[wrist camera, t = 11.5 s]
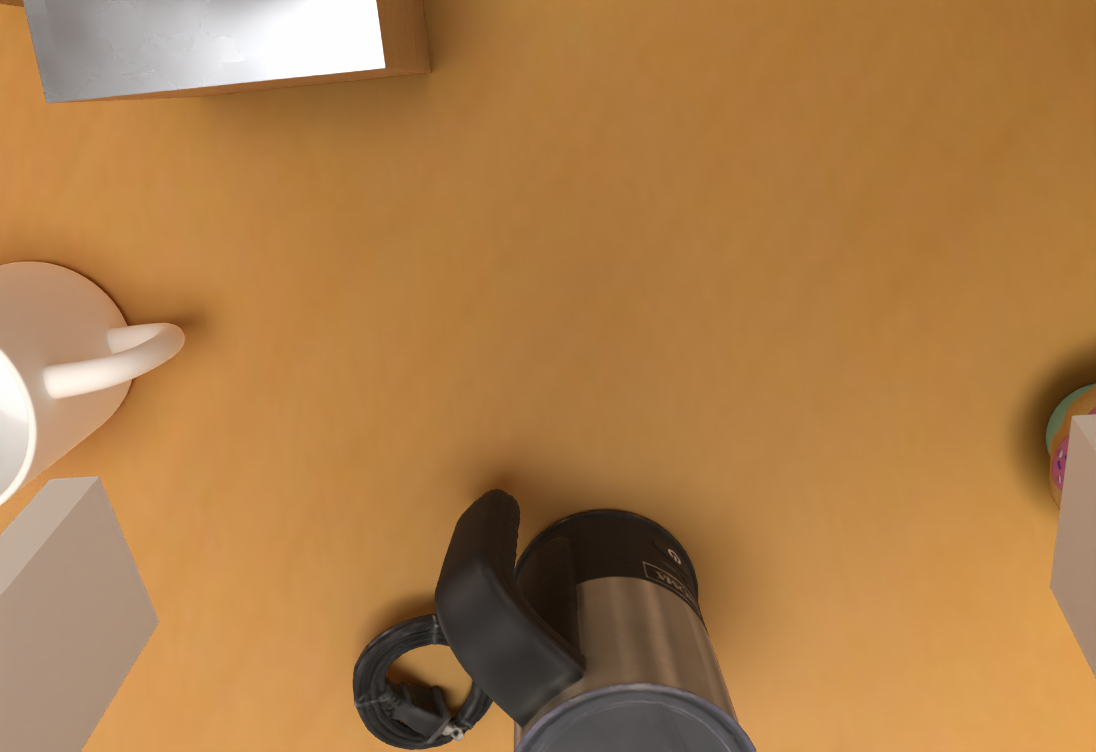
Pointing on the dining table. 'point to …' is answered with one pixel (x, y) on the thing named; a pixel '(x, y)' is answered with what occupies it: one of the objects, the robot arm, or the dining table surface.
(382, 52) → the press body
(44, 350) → the cup
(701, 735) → the milk frother
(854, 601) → the dining table surface
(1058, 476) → the cupcake
